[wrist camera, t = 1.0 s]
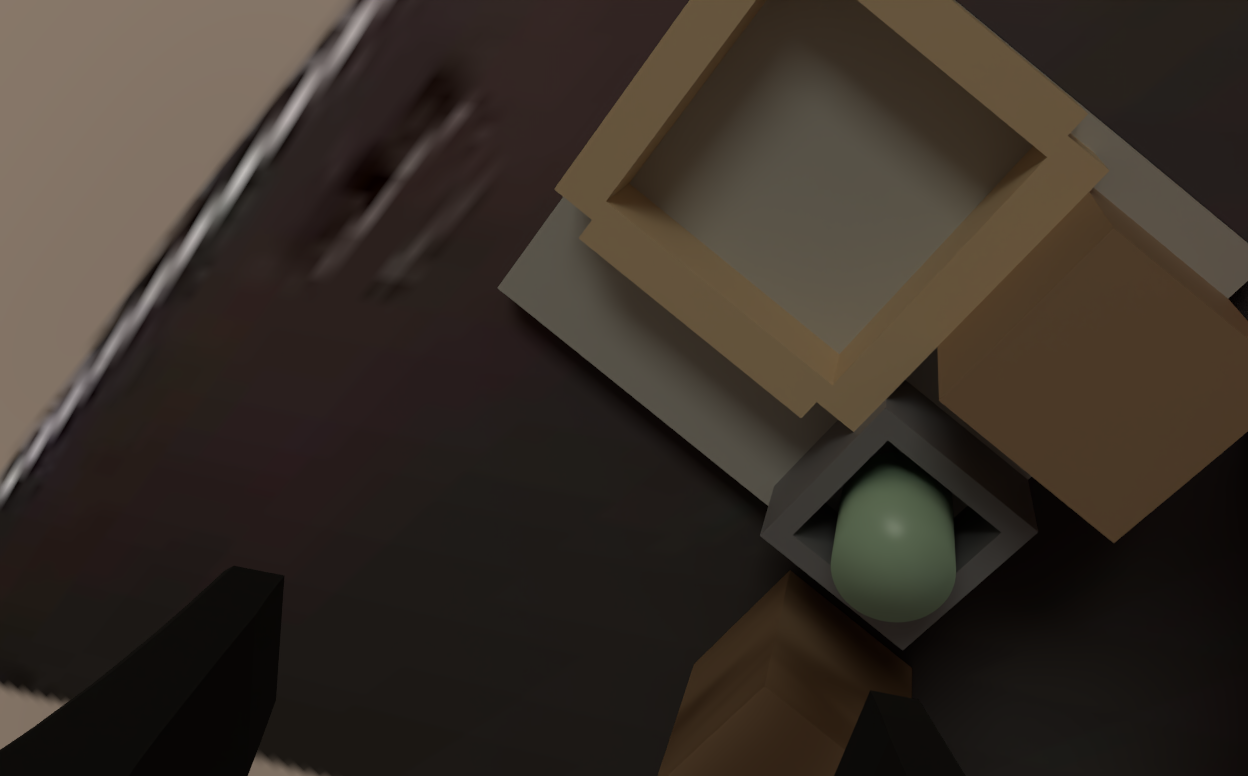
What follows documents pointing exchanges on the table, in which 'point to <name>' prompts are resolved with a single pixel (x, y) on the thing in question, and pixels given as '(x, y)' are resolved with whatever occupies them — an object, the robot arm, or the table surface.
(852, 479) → the button
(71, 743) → the robot arm
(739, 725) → the walnut billet
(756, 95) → the wooden compartment tray
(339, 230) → the table surface
